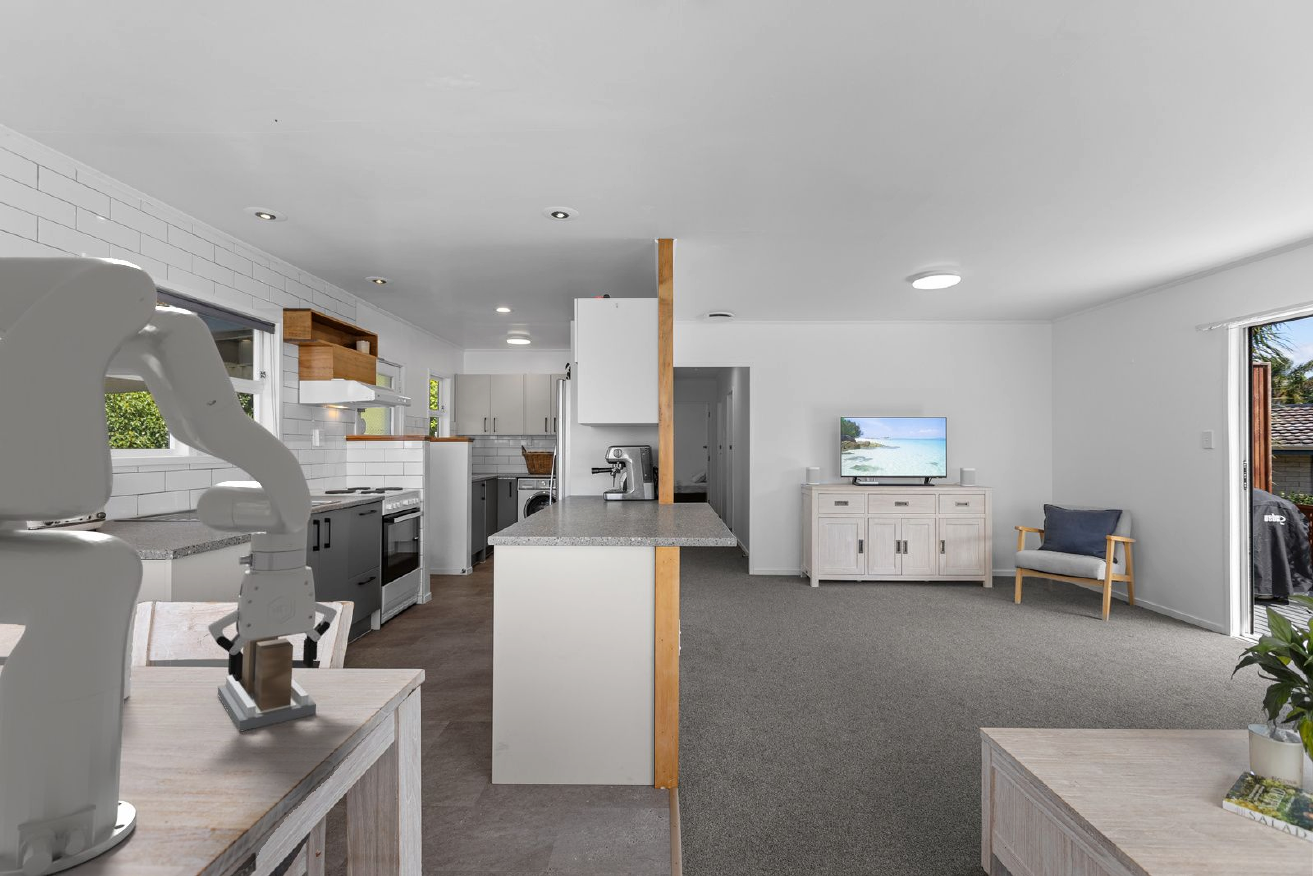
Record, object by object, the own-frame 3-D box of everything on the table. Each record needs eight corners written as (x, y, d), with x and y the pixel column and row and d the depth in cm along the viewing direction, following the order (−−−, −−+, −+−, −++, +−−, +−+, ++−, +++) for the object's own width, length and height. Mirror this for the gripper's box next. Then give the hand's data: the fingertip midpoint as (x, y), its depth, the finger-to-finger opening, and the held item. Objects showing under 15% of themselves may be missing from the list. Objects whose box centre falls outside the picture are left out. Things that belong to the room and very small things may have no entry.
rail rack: (315, 714, 98) (318, 645, 98) (239, 731, 91) (242, 657, 92) (286, 682, 111) (288, 621, 112) (217, 695, 104) (220, 631, 105)
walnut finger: (260, 711, 95) (263, 650, 95) (252, 699, 99) (255, 641, 99) (290, 704, 97) (293, 645, 98) (282, 693, 102) (284, 637, 102)
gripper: (215, 569, 90) (209, 691, 90) (345, 559, 102) (341, 666, 101) (207, 562, 96) (201, 677, 95) (331, 553, 107) (327, 655, 107)
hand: (273, 671), depth 98 cm, fingers open, 9 cm apart
